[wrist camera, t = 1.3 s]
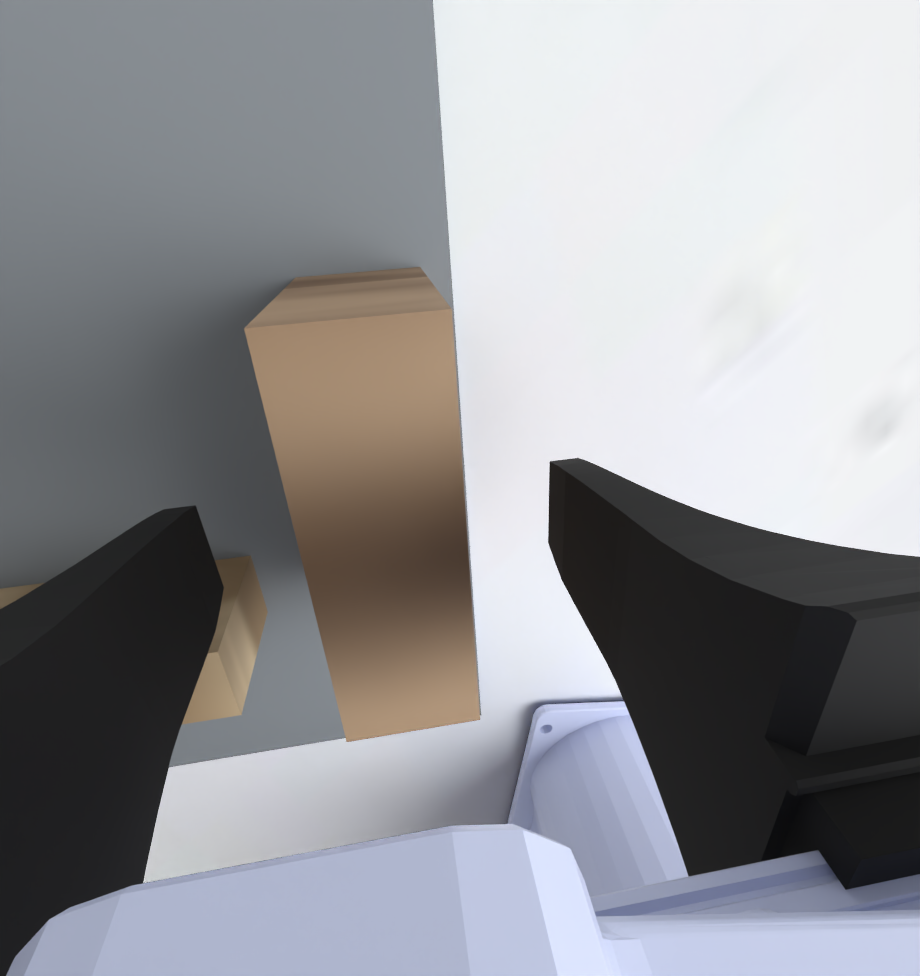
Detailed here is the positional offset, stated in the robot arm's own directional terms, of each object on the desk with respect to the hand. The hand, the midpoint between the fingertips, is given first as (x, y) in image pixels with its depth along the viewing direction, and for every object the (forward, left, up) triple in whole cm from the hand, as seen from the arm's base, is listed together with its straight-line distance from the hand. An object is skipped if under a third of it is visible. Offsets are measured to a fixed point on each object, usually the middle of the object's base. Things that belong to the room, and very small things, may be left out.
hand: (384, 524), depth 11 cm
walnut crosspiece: (0, 0, -5) cm, 5 cm away
